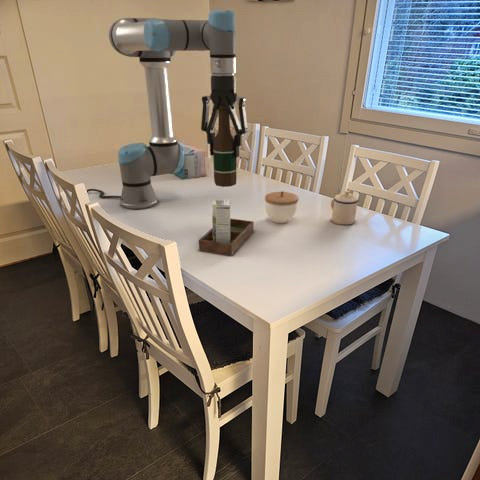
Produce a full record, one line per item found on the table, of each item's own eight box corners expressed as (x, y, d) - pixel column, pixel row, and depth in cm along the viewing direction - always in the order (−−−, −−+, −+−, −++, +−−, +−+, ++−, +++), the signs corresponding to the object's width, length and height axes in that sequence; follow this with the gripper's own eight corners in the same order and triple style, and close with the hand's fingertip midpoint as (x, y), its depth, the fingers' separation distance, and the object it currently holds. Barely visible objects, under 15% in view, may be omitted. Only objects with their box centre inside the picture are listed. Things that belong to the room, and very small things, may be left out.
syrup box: (212, 241, 144) (211, 199, 136) (230, 240, 144) (229, 199, 136) (213, 248, 139) (211, 205, 131) (231, 247, 139) (230, 204, 131)
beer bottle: (234, 187, 138) (233, 106, 125) (211, 186, 139) (208, 106, 126) (238, 181, 144) (238, 103, 131) (217, 180, 146) (214, 102, 132)
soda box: (154, 162, 239) (151, 138, 232) (177, 159, 245) (175, 135, 238) (182, 179, 210) (180, 152, 202) (207, 175, 215) (206, 149, 208)
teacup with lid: (360, 222, 161) (365, 192, 154) (342, 227, 157) (346, 196, 150) (338, 213, 169) (342, 184, 163) (321, 217, 166) (324, 187, 159)
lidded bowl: (275, 228, 156) (276, 198, 150) (258, 217, 165) (259, 189, 159) (303, 222, 161) (305, 193, 155) (285, 212, 170) (287, 184, 164)
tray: (199, 250, 139) (198, 240, 137) (224, 227, 157) (223, 217, 155) (231, 255, 136) (231, 245, 134) (253, 231, 153) (253, 221, 151)
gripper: (186, 74, 124) (191, 155, 137) (251, 76, 118) (250, 160, 131) (197, 73, 130) (200, 150, 142) (260, 74, 124) (258, 155, 137)
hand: (224, 155), depth 137 cm, fingers closed on beer bottle, 8 cm apart
